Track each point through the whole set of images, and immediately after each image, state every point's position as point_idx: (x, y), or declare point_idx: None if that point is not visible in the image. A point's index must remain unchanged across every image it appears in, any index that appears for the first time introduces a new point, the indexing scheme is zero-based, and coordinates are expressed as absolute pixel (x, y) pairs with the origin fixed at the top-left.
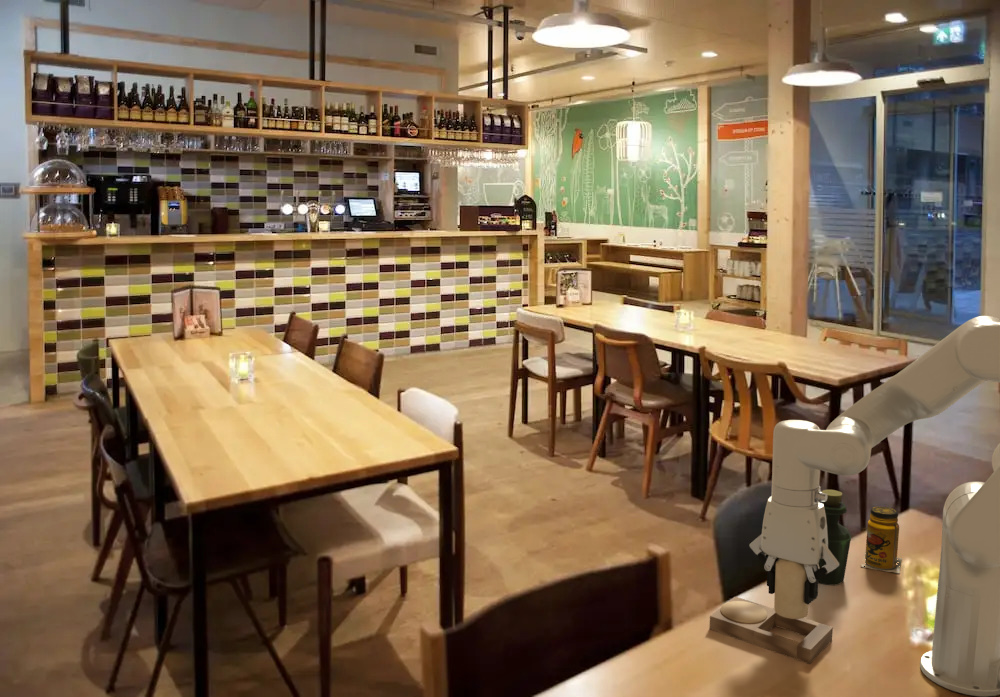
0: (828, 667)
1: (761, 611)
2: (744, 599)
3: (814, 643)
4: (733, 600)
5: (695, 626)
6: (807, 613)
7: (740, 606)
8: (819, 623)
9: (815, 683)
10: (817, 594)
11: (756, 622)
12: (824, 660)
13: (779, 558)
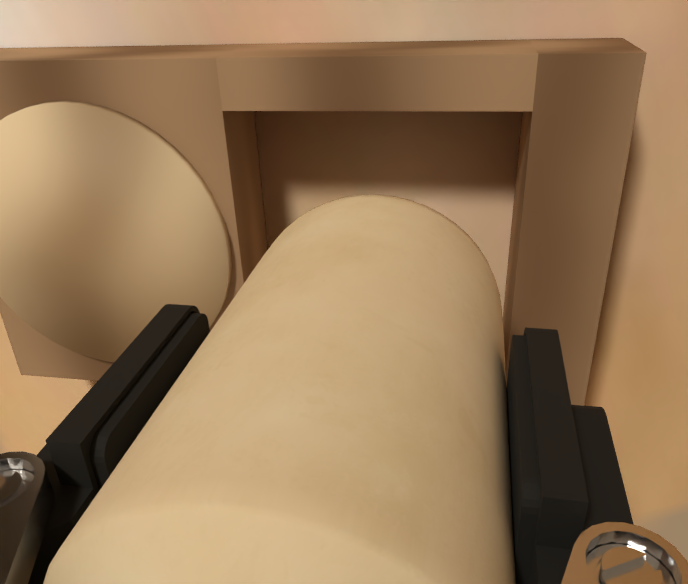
0: (665, 347)
1: (162, 182)
2: None
3: (583, 348)
4: None
5: (11, 346)
6: (501, 309)
7: (41, 201)
8: (537, 63)
9: (636, 492)
10: (603, 418)
11: (217, 314)
12: (630, 295)
13: (15, 577)
